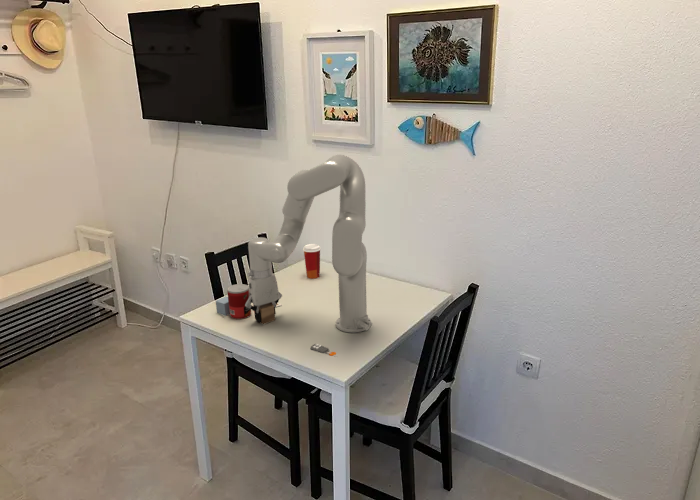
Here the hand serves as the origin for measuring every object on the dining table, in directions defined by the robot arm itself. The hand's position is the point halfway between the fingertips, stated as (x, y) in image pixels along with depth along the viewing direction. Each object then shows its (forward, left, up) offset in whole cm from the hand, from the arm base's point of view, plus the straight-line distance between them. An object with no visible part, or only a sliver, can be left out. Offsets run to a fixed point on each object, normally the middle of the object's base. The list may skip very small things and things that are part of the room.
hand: (265, 318), depth 196 cm
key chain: (-34, -4, -1) cm, 34 cm away
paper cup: (+24, -37, -1) cm, 44 cm away
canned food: (+10, +5, -1) cm, 11 cm away
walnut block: (0, 0, -1) cm, 1 cm away
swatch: (+10, -8, -1) cm, 13 cm away
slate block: (+16, +8, -1) cm, 18 cm away
